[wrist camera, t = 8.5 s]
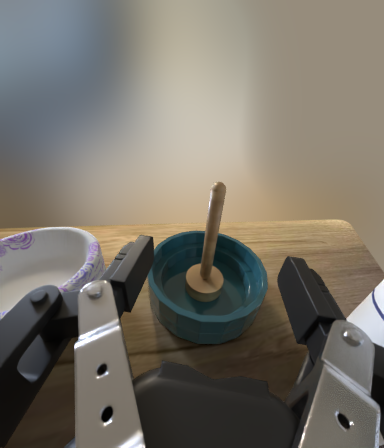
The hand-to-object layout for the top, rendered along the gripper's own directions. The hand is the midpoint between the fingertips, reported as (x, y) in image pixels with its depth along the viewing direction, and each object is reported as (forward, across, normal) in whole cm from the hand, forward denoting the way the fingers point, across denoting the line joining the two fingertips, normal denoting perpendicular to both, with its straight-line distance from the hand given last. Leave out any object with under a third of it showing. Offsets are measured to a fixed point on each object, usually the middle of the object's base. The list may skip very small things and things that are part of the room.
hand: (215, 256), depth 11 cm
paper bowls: (+4, +21, +16) cm, 26 cm away
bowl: (+10, 0, +16) cm, 19 cm away
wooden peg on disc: (+10, 0, +15) cm, 18 cm away
